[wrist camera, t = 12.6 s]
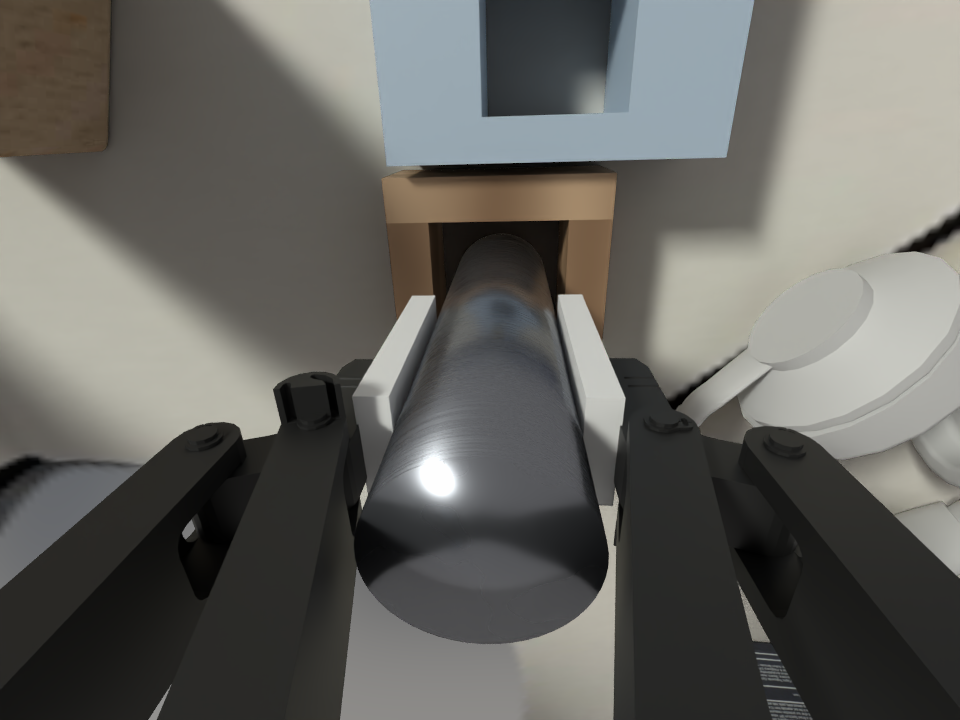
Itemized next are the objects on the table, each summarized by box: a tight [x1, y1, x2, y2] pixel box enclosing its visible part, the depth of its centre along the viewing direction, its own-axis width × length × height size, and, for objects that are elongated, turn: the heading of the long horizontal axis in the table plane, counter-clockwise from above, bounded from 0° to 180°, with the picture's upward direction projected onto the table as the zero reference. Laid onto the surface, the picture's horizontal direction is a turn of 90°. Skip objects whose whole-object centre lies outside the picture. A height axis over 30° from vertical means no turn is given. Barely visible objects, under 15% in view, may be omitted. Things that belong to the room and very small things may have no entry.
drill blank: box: [354, 234, 609, 644], centre depth 15 cm, size 4×4×16 cm
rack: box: [382, 165, 617, 341], centre depth 22 cm, size 9×9×4 cm
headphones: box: [676, 252, 960, 584], centre depth 24 cm, size 18×8×20 cm
